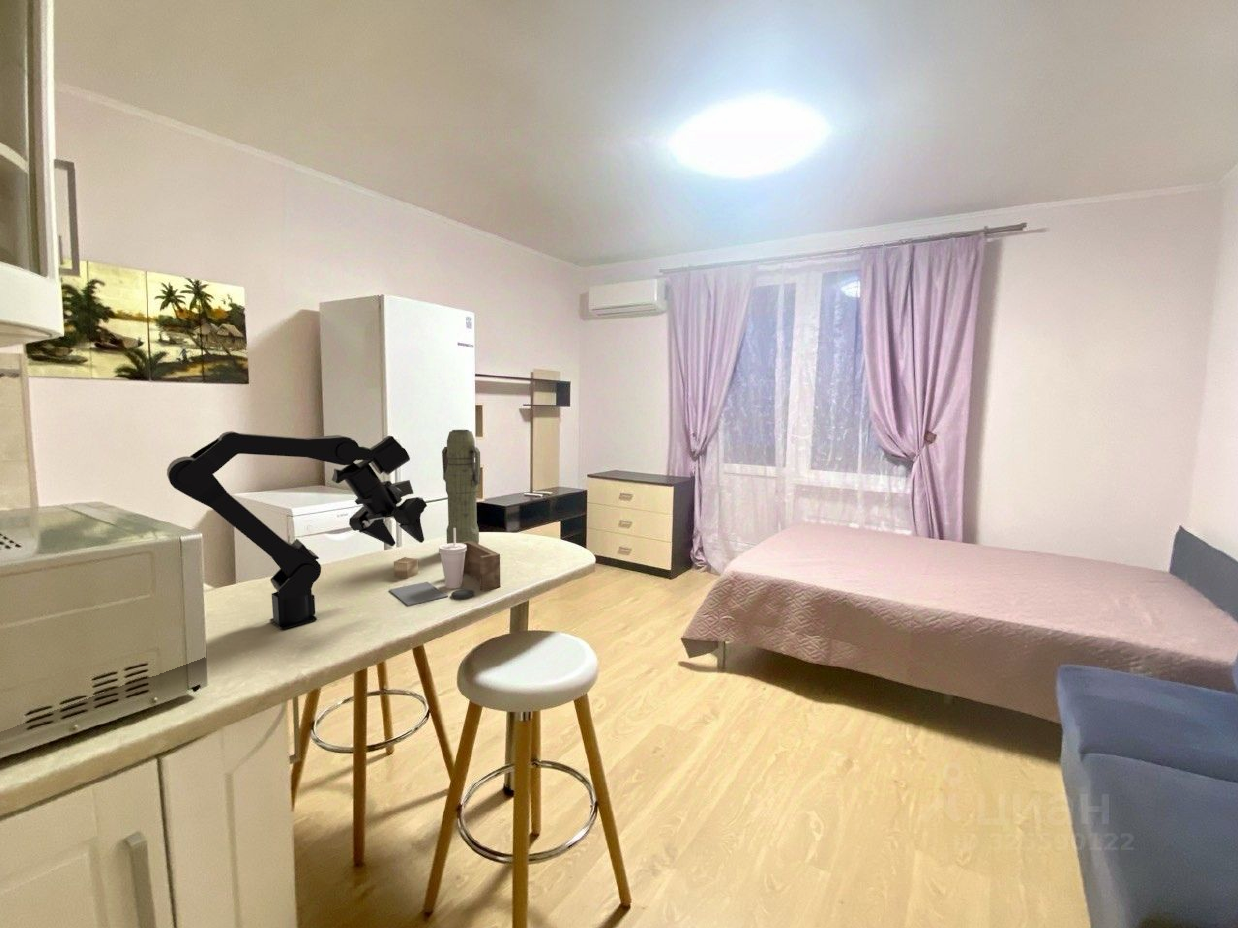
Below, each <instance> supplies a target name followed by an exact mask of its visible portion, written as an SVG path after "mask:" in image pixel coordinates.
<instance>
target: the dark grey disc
mask: <svg viewBox="0 0 1238 928" xmlns="http://www.w3.org/2000/svg"><path fill="white" fill-rule="evenodd" d="M450 595H451V599H453V600H460V601H461V600H469V599H471V598H474V596H475V591H474V590H473V589H467V588H465V589H464V588H462V589H457V590H454V591H452V592H451V593H450Z"/></svg>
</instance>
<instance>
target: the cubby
mask: <svg viewBox="0 0 1238 928" xmlns="http://www.w3.org/2000/svg"><path fill="white" fill-rule="evenodd" d="M462 544H465V545H466V546H467V550H466V551H465V560H464V570H463V576H464V575H467V574H468V575H470V576H472V577H474V578H475V579H477V580H479V584H480V585H479V586H480V587H479V589H480V590H481V591H482V592H484V591H483V590H485V591H488V590H493V588H494V589H498V588H501V554H500V553H498V552H496V551H495V550H492V549H490V548H488V547H486V546H484V545H481V544H479V543H478V544H477V543H475V542H473V541H468V542H462ZM497 587H498V588H497Z"/></svg>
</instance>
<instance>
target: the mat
mask: <svg viewBox="0 0 1238 928" xmlns="http://www.w3.org/2000/svg"><path fill="white" fill-rule="evenodd" d="M388 591H389V592H390V594H391V595H394V596H395V597H396V598H397V599H398V600H400V601H401V602H402V603H403V604H404V605H406V606H407V607H411V606H415V605H418V604H422V603H423V604H424V603H428V602H432V601H437V600H440V599H446V598H449V595H448V594H446V593H445V592H443V591H442V590H440V589H439V588H437V586H434V585H433V584H432V583H430V582H429V581H424V582H418V583H414V584H409V585H403V586H399V587H395V588H391V589H388Z"/></svg>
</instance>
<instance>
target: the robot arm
mask: <svg viewBox="0 0 1238 928" xmlns="http://www.w3.org/2000/svg"><path fill="white" fill-rule="evenodd" d="M240 454H241V455H257V456H277V457H295V458H296V457H297V458H307V459H313V460H318V461H322V462H326V463H331V464H336V465H340V466H344V467H343V468H341V469H339V468H334V469H333V474H332V477H331V482H334V484H335V483H336V484H340V483H342V482H344V481H345V483H346V485H348V487H349V489H350V490H351V491H352V492H353V494H354V495H355V496H356V499H355V500H354V503H355V504H356V505H357V506H358V505H362V507H360V508H359V509H358V510H357V511H356V512H355V513H353V515H352V516H351V517H350V518H349V521H348V522H349V523H348V525H349V526H350V527H351V528H352V530H353V531H358V532H359V533H361V534H364V535H367V536H369V537H372V538H374V539H376V540H378V541H380V542H381V543H384V544H385V545H388V546H390V547H394V546H395V545H396V541H395V538H394V537H393V535H392V534H391V532H390V530H389V529H388V527H387V525H386V524H385V519H387V518H393V519H394V520H395V522H396V523H398V524H399V525H398V526H399V528H400V529H402V530H403V531H404V532H405V533H407V534H408V535H410V536H411V537H412V538H413V539H415V540H416V541H417V542H418V543H423V542H424V541H425V537H424V536H425V535H424V532H423V528H422V524H421V523H422V522H421V516H422V514H423V512H425V509H426V507H428V504H427V502H426V501H425V500H424V499H423V497H420V496H419V497H418V496H417V497H411V498H406V499H405V500H404V501H403V497H405V496H408V495H413V494H414V490H413V486H412V484H411V480H410V479H407V480H401V481H398V482H394V483H392V481H390V480H385V481H381V479H380V477H379V476H378V474H379V475H382V474H383V473H384V474H385V475H387V476H389V475H390V474H391V473H393V472H394V471H396V470H398V469H399V468H401V467H402V466H404V465H405V464H407V462H410V460H411V458H410V455H409V453H408V451H407V450H406V448H404V447H403V446H402V445H401V443H399V442H398V441H397V440H396V438H394V436H392V435H387V436H386V437H383V439H382V440H381V441H379V442H378V443H376V444H375V445H373V446H371V447H370V448H369V447H366V446H363V445H362V446H359V444H358V443H357V441H356V440H355V439H353V437H349V436H344V435H341V434H335V435H321V436H312V437H294V436H280V435H266V434H256V433H254V434H253V433H243V432H242V433H241V432H236V431H232V430H231V431H229V430H228V431H226V432H225V431H224V432H223V433H222V434H220V435H219V436H218V437H217V438H216V439H215V440H213V441H211V442H209V443H208V444H206V445H205V446H203V447H200V449H199V450H196V452H194V453H193V454H191V455H189V456H181V457H178V458H176V459H174V460H173V461H171V462H170V463H169V465H168V466H167V469H166V476H167V478H168V481H169V483H170V485H171V486H172V487H173V488H174V489H175V490H176V491H179V492H180V493H182V494H184V495H185V496H187V497H190V498H191V499H193V500H195V501H196V502H199V503H200V504H203V505H205V506H207V507H208V508H211V510H213V511H214V512H216V513H217V514H218V515H220V517H222V519H224V520H225V521H226V522H228V523H229V524H230V525H231V526H233V527H234V528H235V529H237V530H238V531H239V533H242V534H243V536H244V537H246V538H247V539H249V540H250V541H251V542H252V543H253V544H255V545H256V546H257V547H258V548H260V549H261V550H262V551H263V552H264V553H266V554H267V555H268V556H269V557H270V558H271V559H272V560H273V562H274V563H275V564H276V565H277V566H278V567H279V570H277V572H276V573H275V574H273V576H272V577H271V578H270V580H269V581H270V583H271V584H272V586H273V588H274V589H275V590H276V591H275V592H273V593H271V606H272V607H271V608H272V617H271V618H270V619H269V622H270V623H271V624H272V625H274V626H276V627H277V628H279V629H280V630H287V629H291V628H295V627H298V626H302V625H304V624H308V623H312V622H315V621H317V620H318V617H317V616H316V601H315V600H316V599H315V598H316V597H315V595H314V594H313V593H312V592H313V590H312V588H313V585H314V583H315V582H316V581H318V580H319V578H320V576H321V573H322V566H321V564H320V562H319V561H318V559H320V557H319V556H318V555H317V554H316V553H315V552H313V550H311V549H308V548H307V547H306V545H305V544H304V543H302V541H300V540H299V539H298V538H296V539H295V540H294V541H293V543H291V542H290V541H287V540H285V539H284V538H282V537H281V536H280V535H278V534H277V533H276V532H275V531H274V530H273V529H271V528H270V527H269V526H268V525H267V524H265V523H264V522H263V521H262V520H261V519H260V518H259V517H257V516H256V515H255V514H254V513H253V512H252V511H250V510H249V509H248V508H247V507H245V506H244V504H242V503H240V502H239V501H238V500H237V499H236V498H235V497H234V496H232V495H231V494H230V493H229V492H228V491H227V490H226V489H225V487H224V486H223V485H222V483H221V482H220V481H219V480H218V479H217V477H215V475H214V474H216V473H217V472H218V471H219V470H220V469H222V468H223V467H224V466H225V465H226V464H227V463H229V462H230V461H231V460H232V459H234V458H235V457H236V456H237V455H240ZM355 461H359V462H357V463H355ZM376 472H377V473H378V474H377V473H376ZM402 501H403V502H402ZM400 502H402V503H401V504H400V505H399V506H398V504H399V503H400Z"/></svg>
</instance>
